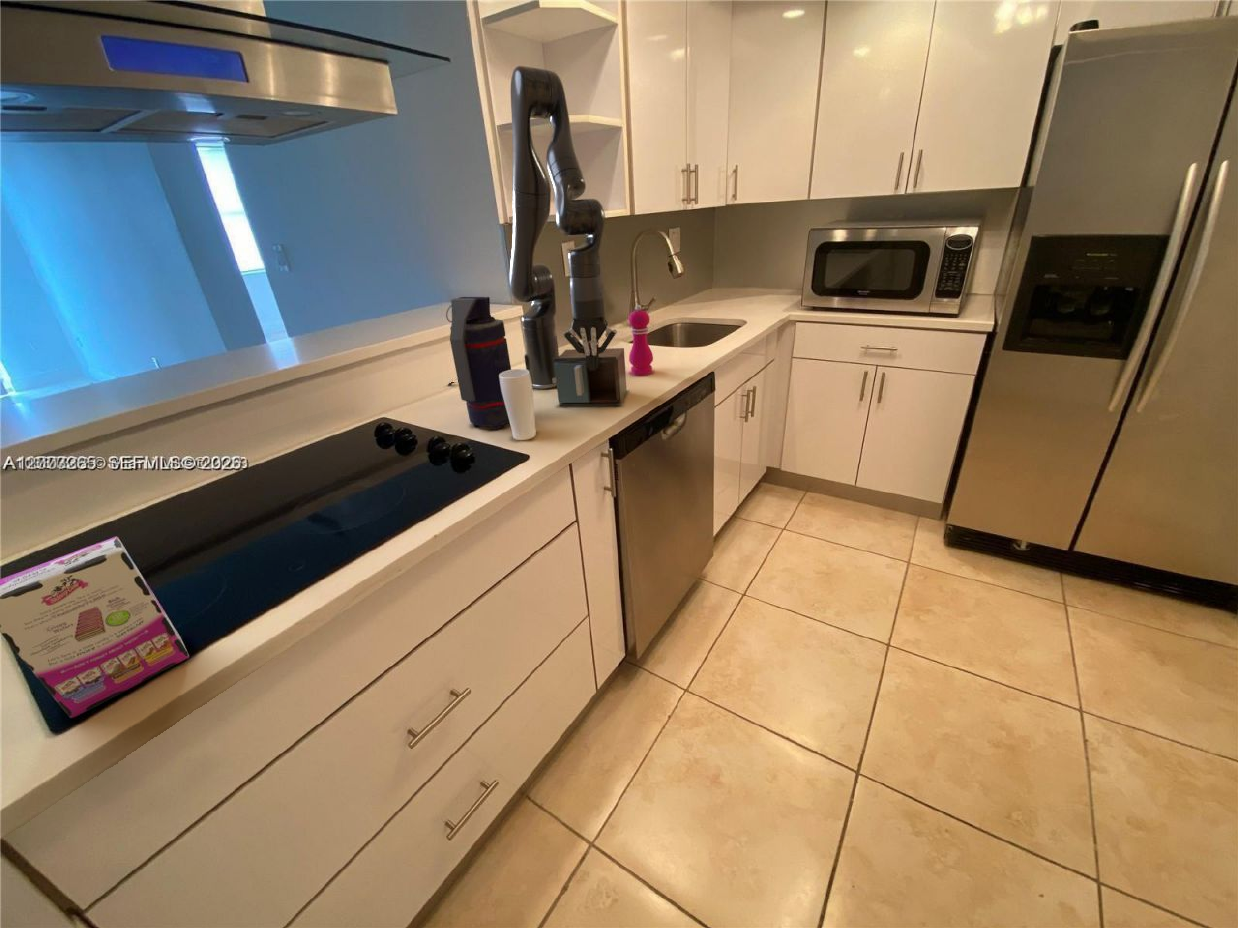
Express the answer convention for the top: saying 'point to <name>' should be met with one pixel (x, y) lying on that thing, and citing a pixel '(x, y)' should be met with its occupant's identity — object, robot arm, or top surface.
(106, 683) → the candy bar box
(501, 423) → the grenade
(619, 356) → the cabinet
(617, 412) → the top surface
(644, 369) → the pepper mill
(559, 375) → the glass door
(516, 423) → the drinking glass
